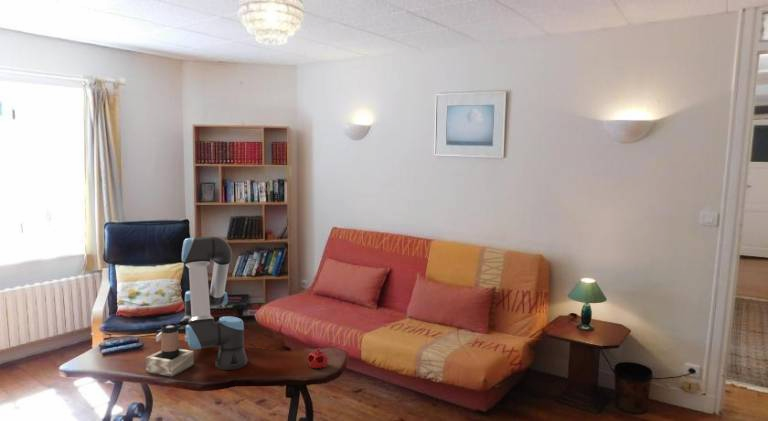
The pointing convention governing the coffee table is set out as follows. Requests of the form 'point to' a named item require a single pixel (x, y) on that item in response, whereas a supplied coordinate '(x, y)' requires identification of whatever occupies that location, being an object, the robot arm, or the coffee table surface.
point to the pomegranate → (317, 359)
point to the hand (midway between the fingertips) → (171, 339)
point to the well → (169, 363)
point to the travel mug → (169, 341)
